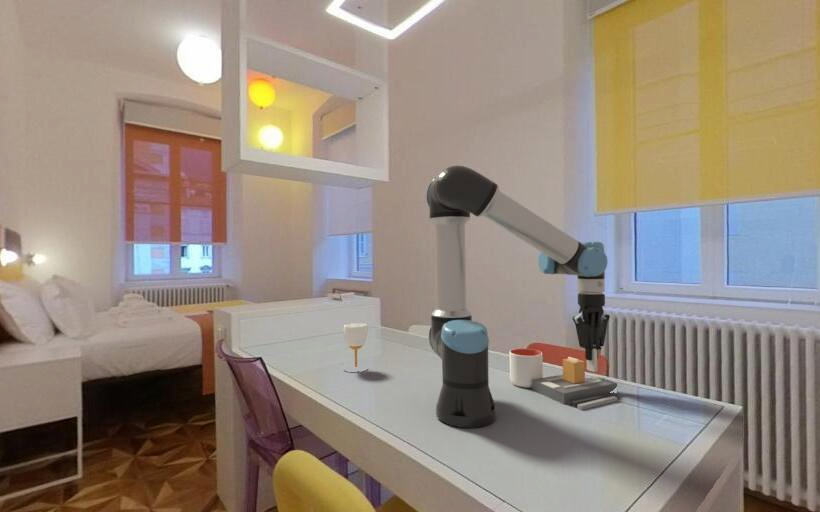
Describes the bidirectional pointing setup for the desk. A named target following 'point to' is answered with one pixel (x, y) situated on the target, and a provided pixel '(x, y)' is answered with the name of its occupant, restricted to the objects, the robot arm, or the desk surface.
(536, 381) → the box
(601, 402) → the cord grey
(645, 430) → the desk surface
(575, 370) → the breaker toggle
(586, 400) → the black bar
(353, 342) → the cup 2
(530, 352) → the cup
